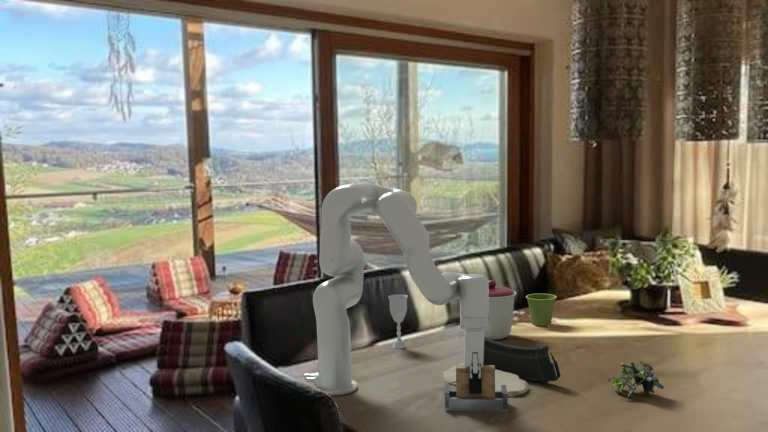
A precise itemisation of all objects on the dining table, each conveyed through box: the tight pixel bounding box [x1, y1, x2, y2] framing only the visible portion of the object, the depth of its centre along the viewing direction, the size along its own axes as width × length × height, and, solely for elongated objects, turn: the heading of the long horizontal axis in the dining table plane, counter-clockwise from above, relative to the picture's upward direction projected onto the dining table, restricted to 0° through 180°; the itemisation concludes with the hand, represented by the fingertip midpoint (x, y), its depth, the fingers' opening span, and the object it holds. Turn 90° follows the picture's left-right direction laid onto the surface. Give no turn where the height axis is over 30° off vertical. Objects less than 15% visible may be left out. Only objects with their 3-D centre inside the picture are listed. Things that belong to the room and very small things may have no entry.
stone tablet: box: [442, 361, 529, 398], centre depth 192 cm, size 16×30×2 cm, turn 36°
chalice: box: [387, 293, 409, 350], centre depth 232 cm, size 7×7×18 cm
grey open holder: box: [444, 383, 509, 413], centre depth 173 cm, size 16×7×5 cm, turn 83°
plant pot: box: [525, 293, 557, 327], centre depth 259 cm, size 12×12×11 cm
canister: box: [484, 279, 517, 341], centre depth 242 cm, size 18×18×21 cm
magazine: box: [483, 337, 561, 386], centre depth 198 cm, size 17×3×30 cm
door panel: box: [455, 364, 495, 398], centre depth 172 cm, size 10×3×8 cm, turn 83°
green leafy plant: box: [607, 360, 665, 399], centre depth 178 cm, size 11×11×12 cm
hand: (475, 390), depth 173 cm, fingers closed on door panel, 3 cm apart
